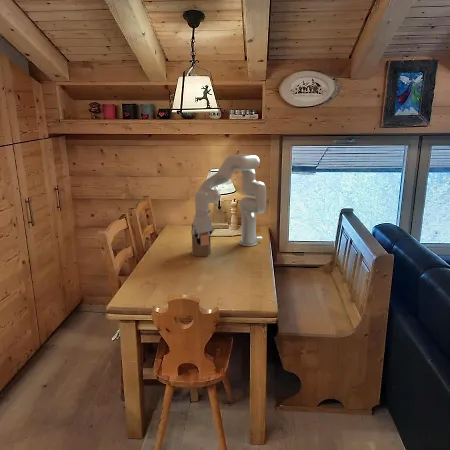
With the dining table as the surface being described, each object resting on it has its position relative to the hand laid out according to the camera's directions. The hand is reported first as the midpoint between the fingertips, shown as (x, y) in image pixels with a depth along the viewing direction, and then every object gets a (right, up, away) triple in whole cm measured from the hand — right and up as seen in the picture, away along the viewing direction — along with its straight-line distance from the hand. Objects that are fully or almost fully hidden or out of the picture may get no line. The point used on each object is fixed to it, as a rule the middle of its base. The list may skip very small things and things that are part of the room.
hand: (203, 243), depth 244 cm
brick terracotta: (0, -1, 0) cm, 1 cm away
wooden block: (-2, -8, +16) cm, 18 cm away
